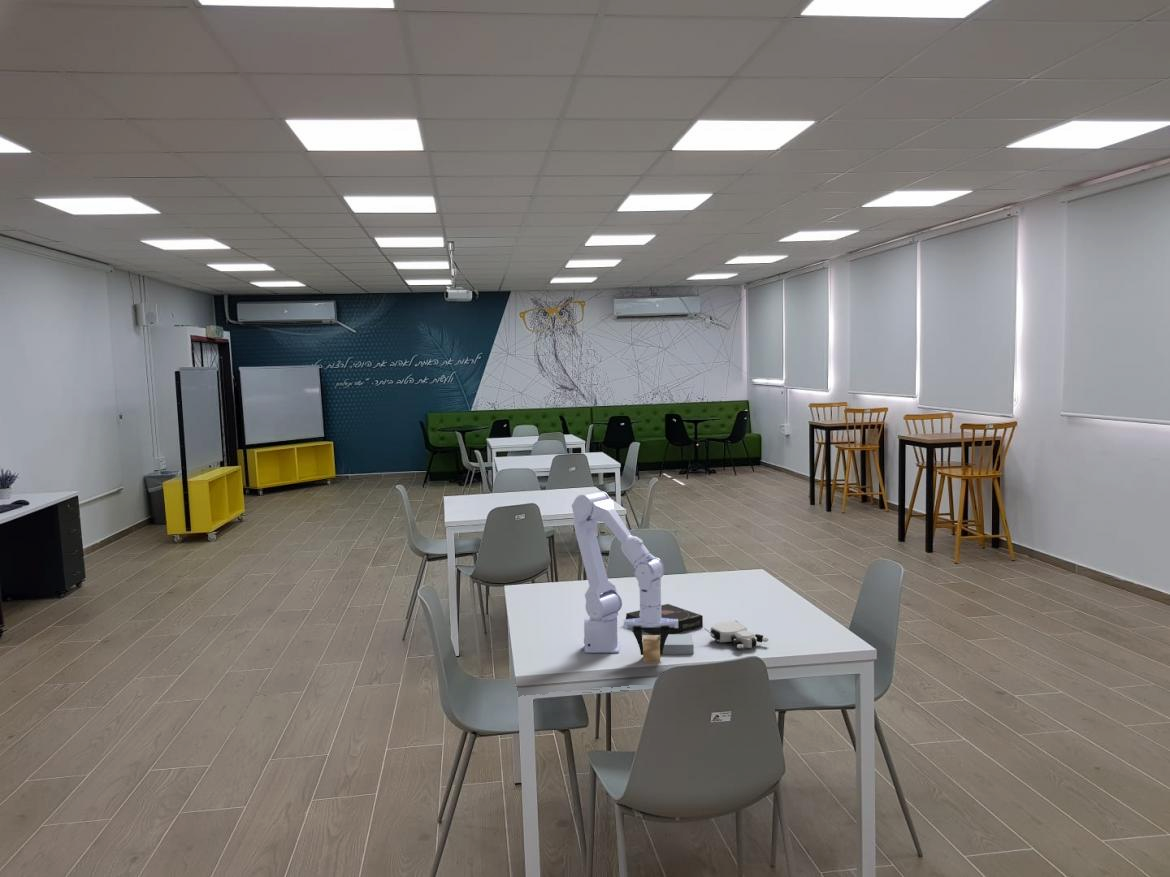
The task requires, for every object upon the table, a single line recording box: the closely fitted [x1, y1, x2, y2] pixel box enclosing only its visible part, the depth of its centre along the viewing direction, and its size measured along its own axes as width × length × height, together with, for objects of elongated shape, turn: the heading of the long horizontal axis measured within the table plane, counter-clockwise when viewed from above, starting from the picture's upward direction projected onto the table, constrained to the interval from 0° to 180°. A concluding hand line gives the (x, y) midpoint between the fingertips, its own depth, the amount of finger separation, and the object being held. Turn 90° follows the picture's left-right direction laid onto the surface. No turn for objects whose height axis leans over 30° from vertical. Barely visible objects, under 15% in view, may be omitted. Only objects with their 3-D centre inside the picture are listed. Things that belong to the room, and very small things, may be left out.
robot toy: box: [703, 620, 769, 650], centre depth 229 cm, size 12×4×15 cm
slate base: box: [663, 633, 695, 655], centre depth 226 cm, size 9×9×3 cm
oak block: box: [642, 634, 661, 664], centre depth 217 cm, size 4×4×6 cm
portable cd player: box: [625, 603, 704, 636], centre depth 247 cm, size 16×17×4 cm
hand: (651, 653), depth 217 cm, fingers closed on oak block, 4 cm apart
